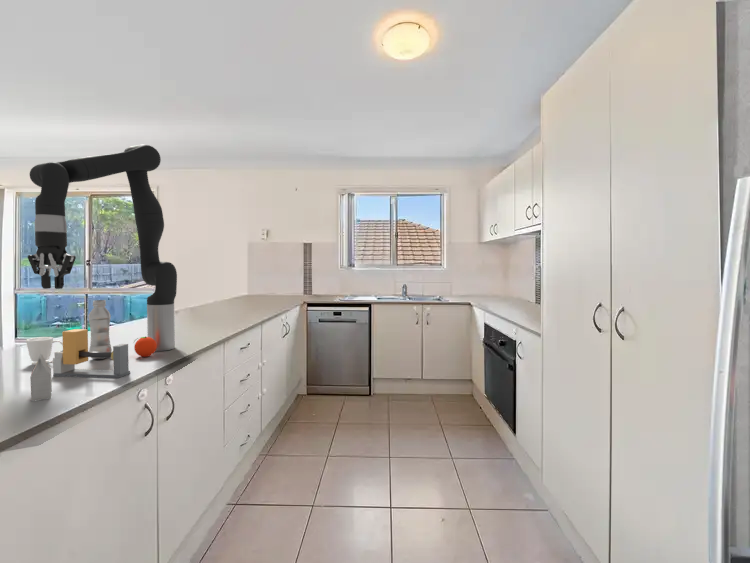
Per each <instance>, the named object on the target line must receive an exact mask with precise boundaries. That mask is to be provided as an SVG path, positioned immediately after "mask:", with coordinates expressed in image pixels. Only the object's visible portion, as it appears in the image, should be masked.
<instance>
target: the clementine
mask: <svg viewBox="0 0 750 563" xmlns="http://www.w3.org/2000/svg"><path fill="white" fill-rule="evenodd" d="M133 343H134V346H133V347H134V352H135V353H136V354H137V355H138V356H139V357H143V358H145V357H150V356H152V355H153V354H154V353H155V352H157V351H156V349H157V344H156V342H155V340H154V339H152V338H150V337H148V336H141V337H137V338H136V340H133Z"/></svg>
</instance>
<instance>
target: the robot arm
mask: <svg viewBox="0 0 750 563" xmlns="http://www.w3.org/2000/svg"><path fill="white" fill-rule="evenodd" d="M161 161H162V160H161V155H160V152H159V151H158V149H156V148H155V147H154V146H152V145H148V144H137V145H131V146H128V147H126V148H125V149H124V151H123V152H122V151H121V152H117V153H115V152H114V153H109V154H99V155H88V156H83V157H76V158H71V159H68V160H64V161H57V162H53V161H51V162H50V161H49V162H44V163H38V164H35V165H34V166H32V168H30V171H29V178H30V181H31V182H32V183H33V184H35V185H36V186H38V187H40V194H38V195H37V196H36V197H35V201H34V202H35V203H34V206H35V218H34V238H35V239H34V244H35V245H34V246H36V247H37V249H36V253H34V254H28V255H27V259H28V261H29V265H30V266H31V269H32V272H33V273H34V275H39V276H40V279H41V282H40V285H41V287H42V289H43V290H45V289H46V290H48V289H51V288H52V284H51V282H52V280H51V271H52V269H53V273H54V278H53V279H54V289H55V290H59V289H60V290H62V289H63V288H64V287H65V286H64V285H65V279H64V278H65V276H66V275H70V274H71V272H72V269H73V266H74V264H75V262H76V261H75V260H76V259H77V257H76V255H71V254H69V253H68V252H67V250H66V248H67V247H68V232H67V228H68V226H67V219H66V204H65V203H66V199H67V195H68V192H69V191H68V189H69V185H70V184H71V183H77V182H78V183H79V182H80V183H81V182H87V181H92V180H95V179H100V178H104V177H109V176H113V175H116V174H121V173H125V174H126V177H127V179H128V180H127V181H128V184H129V189H130V194H131V200H132V206H133V214H134V219H135V220H134V221H135V226H136V231H137V237H138V239H137V240H138V245H139V255H140V258H139V259H140V272H141V277H142V281H144V283H145V284H146V285H148V286H152V287H153V286H154V287H155V289H154V291H153V292H154V293H152V294H150V295H149V296H147V298H146V315H147V316H146V323H147V327H146V328H147V329H146V330H147V331H146V332H147V333H146V334H147V337H150V338H152V339H154V340H155V342H156V344H157V349H156V351H155V352H161V351H163V352H164V351H170V350H173V349H175V348H176V338H175V337H176V335H175V334H176V332H175V331H176V330H175V326H176V325H175V299H176V297H177V289H178V288H177V287H178V286H177V284H178V274H177V273H178V272H177V269H176V267H175V265H174V264H173V263H172V262H170V261H161V260H160V254H159V245H160V241H161V238H162V236H163V233H164V229H165V219H164V212H163V209H162V206H161V204H160V202H159V200H158V198H157V197H156V196H155V194H154V192H153V191H152V189H151V186H150V181H149V177H148V176H149V175H148V172H152V171H154V170H156V169H158V168H159V166H160V165H161Z"/></svg>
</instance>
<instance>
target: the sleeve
mask: <svg viewBox="0 0 750 563" xmlns="http://www.w3.org/2000/svg"><path fill="white" fill-rule="evenodd" d="M61 333H62V343H63V346H62V350H63V364H75V366H77V365H80V364H82V363H85V362H88V361H89V357H79V351H84V352H89V336H88V333H89V332H88V329H87V328H86V329H85V328H84V329H83V328H82V329H81V328H74V329H70V330H64V331H62V332H61Z"/></svg>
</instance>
